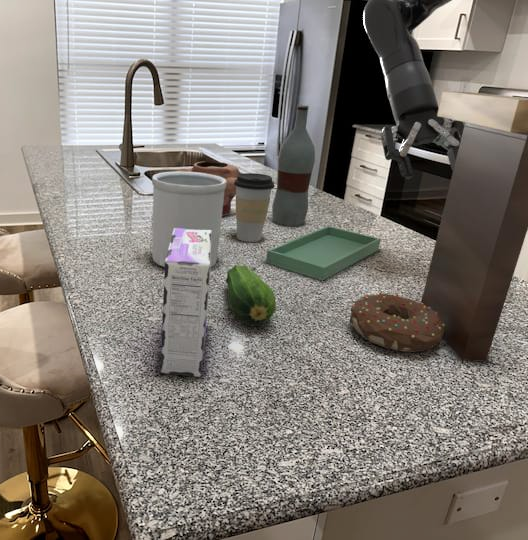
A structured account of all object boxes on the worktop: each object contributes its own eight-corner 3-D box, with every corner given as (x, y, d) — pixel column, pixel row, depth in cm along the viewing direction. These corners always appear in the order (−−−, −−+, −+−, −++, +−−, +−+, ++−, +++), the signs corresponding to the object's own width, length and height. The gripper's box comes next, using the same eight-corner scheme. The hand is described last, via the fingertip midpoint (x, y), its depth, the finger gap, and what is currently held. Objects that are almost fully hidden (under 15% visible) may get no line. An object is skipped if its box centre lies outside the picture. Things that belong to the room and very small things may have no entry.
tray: (326, 236, 128) (328, 225, 126) (378, 250, 119) (380, 238, 118) (265, 262, 109) (267, 250, 108) (322, 281, 101) (324, 267, 100)
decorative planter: (171, 217, 138) (173, 166, 133) (170, 206, 149) (172, 157, 144) (245, 220, 139) (250, 168, 133) (238, 208, 150) (242, 160, 145)
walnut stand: (438, 312, 89) (488, 122, 77) (486, 361, 75) (557, 136, 63) (418, 311, 90) (465, 121, 78) (461, 359, 75) (527, 135, 63)
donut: (334, 315, 87) (339, 288, 85) (411, 315, 88) (418, 288, 86) (371, 361, 74) (377, 330, 72) (461, 360, 75) (470, 330, 73)
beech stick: (463, 117, 86) (469, 92, 84) (545, 133, 65) (555, 100, 64) (436, 116, 86) (442, 91, 84) (510, 132, 66) (519, 99, 64)
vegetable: (248, 283, 77) (233, 241, 95) (223, 320, 79) (213, 273, 98) (289, 304, 78) (266, 259, 96) (263, 341, 80) (246, 290, 99)
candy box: (169, 325, 81) (173, 226, 75) (206, 328, 81) (213, 228, 75) (158, 374, 68) (162, 259, 62) (202, 378, 68) (211, 262, 62)
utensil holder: (171, 243, 118) (174, 167, 112) (230, 256, 112) (238, 176, 105) (136, 262, 106) (137, 178, 100) (200, 278, 100) (206, 189, 93)
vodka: (304, 218, 142) (320, 105, 131) (307, 228, 133) (324, 108, 122) (270, 216, 143) (283, 103, 132) (270, 225, 135) (284, 106, 124)
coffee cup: (242, 246, 118) (248, 181, 113) (222, 234, 126) (226, 173, 121) (276, 242, 122) (283, 179, 116) (254, 230, 130) (260, 171, 124)
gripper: (378, 90, 93) (401, 173, 90) (457, 74, 93) (483, 157, 90) (366, 110, 101) (387, 187, 98) (440, 95, 100) (463, 172, 97)
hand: (433, 173), depth 94 cm, fingers open, 8 cm apart
